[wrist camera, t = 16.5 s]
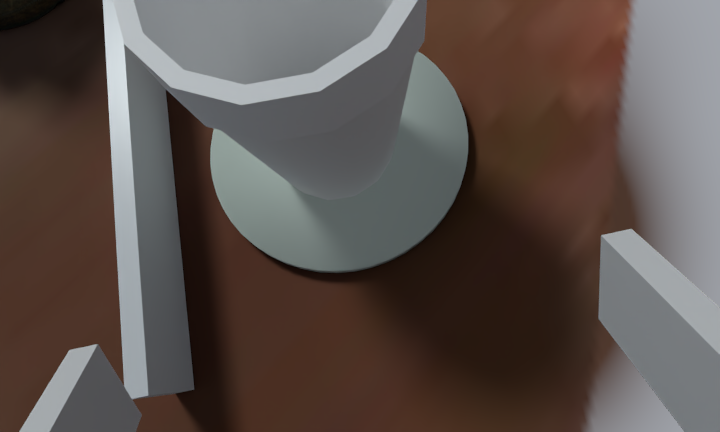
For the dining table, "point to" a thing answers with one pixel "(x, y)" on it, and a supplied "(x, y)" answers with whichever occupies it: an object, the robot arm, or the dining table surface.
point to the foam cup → (288, 78)
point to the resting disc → (370, 207)
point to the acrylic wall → (145, 226)
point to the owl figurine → (23, 11)
